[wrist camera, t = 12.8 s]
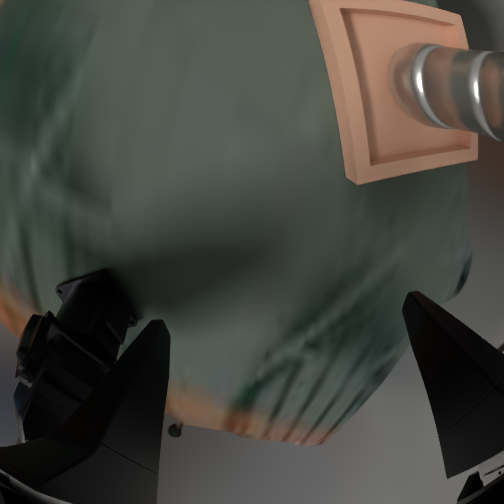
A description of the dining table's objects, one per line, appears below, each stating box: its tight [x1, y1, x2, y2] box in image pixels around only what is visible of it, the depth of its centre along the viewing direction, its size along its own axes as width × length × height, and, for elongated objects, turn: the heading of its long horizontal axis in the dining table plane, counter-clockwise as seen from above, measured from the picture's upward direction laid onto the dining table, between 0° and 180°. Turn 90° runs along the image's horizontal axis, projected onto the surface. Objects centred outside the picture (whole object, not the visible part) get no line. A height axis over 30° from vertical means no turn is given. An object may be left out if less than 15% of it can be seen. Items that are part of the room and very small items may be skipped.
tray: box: [308, 0, 478, 185], centre depth 15 cm, size 14×14×2 cm
